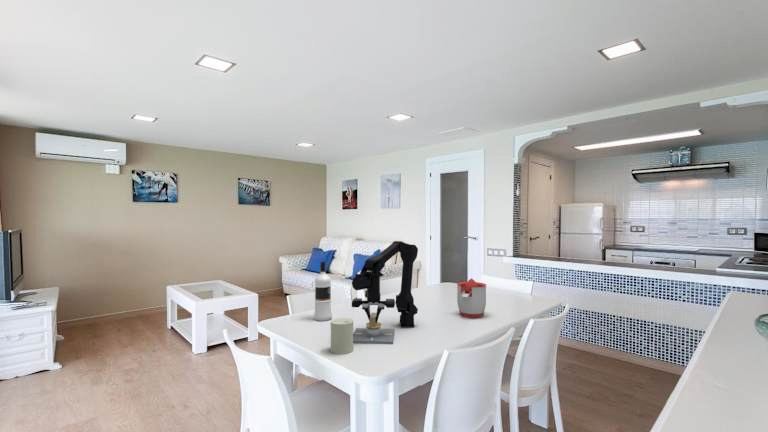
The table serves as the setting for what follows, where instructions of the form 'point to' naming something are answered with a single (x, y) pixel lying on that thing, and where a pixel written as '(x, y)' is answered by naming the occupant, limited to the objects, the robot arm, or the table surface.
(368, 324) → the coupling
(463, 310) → the citrus juicer
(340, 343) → the can
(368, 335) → the post base
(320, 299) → the vodka
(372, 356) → the table surface
